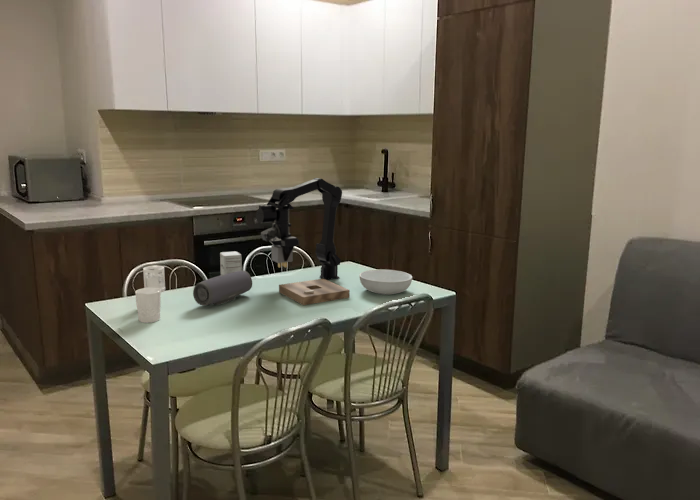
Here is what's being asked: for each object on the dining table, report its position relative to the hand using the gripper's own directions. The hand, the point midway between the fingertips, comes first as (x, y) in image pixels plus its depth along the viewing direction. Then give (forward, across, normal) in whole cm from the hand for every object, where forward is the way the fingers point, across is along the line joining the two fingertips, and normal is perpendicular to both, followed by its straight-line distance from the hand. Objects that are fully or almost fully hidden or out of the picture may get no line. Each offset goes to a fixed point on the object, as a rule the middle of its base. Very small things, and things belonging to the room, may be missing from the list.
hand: (282, 259), depth 237 cm
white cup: (+12, +16, -57) cm, 60 cm away
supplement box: (+12, -15, -16) cm, 25 cm away
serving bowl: (+12, +27, +32) cm, 43 cm away
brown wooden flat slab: (+11, +17, +5) cm, 21 cm away
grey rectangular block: (+3, 0, 0) cm, 3 cm away
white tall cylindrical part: (+12, +1, -51) cm, 52 cm away
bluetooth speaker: (+12, +8, -28) cm, 31 cm away
